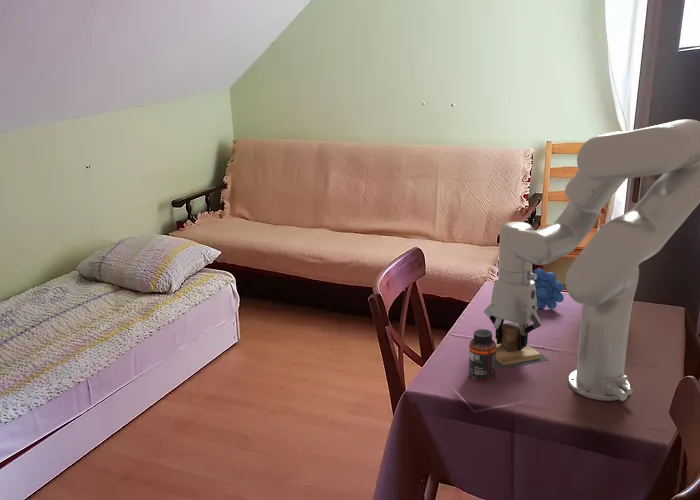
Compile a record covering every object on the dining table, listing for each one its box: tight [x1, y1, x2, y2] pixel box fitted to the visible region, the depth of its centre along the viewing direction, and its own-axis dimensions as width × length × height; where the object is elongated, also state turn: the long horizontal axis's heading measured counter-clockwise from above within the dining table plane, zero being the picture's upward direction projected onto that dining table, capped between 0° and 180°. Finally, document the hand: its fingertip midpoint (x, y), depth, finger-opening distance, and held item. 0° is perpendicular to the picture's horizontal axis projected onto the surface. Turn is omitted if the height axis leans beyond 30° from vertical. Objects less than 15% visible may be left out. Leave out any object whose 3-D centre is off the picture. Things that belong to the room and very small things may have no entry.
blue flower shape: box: [532, 267, 565, 310], centre depth 177 cm, size 12×7×12 cm, turn 70°
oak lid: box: [494, 321, 541, 365], centre depth 153 cm, size 10×10×7 cm
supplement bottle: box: [468, 328, 497, 384], centre depth 142 cm, size 6×6×11 cm
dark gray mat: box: [496, 342, 550, 370], centre depth 154 cm, size 13×13×1 cm
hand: (511, 344), depth 153 cm, fingers closed on oak lid, 4 cm apart
